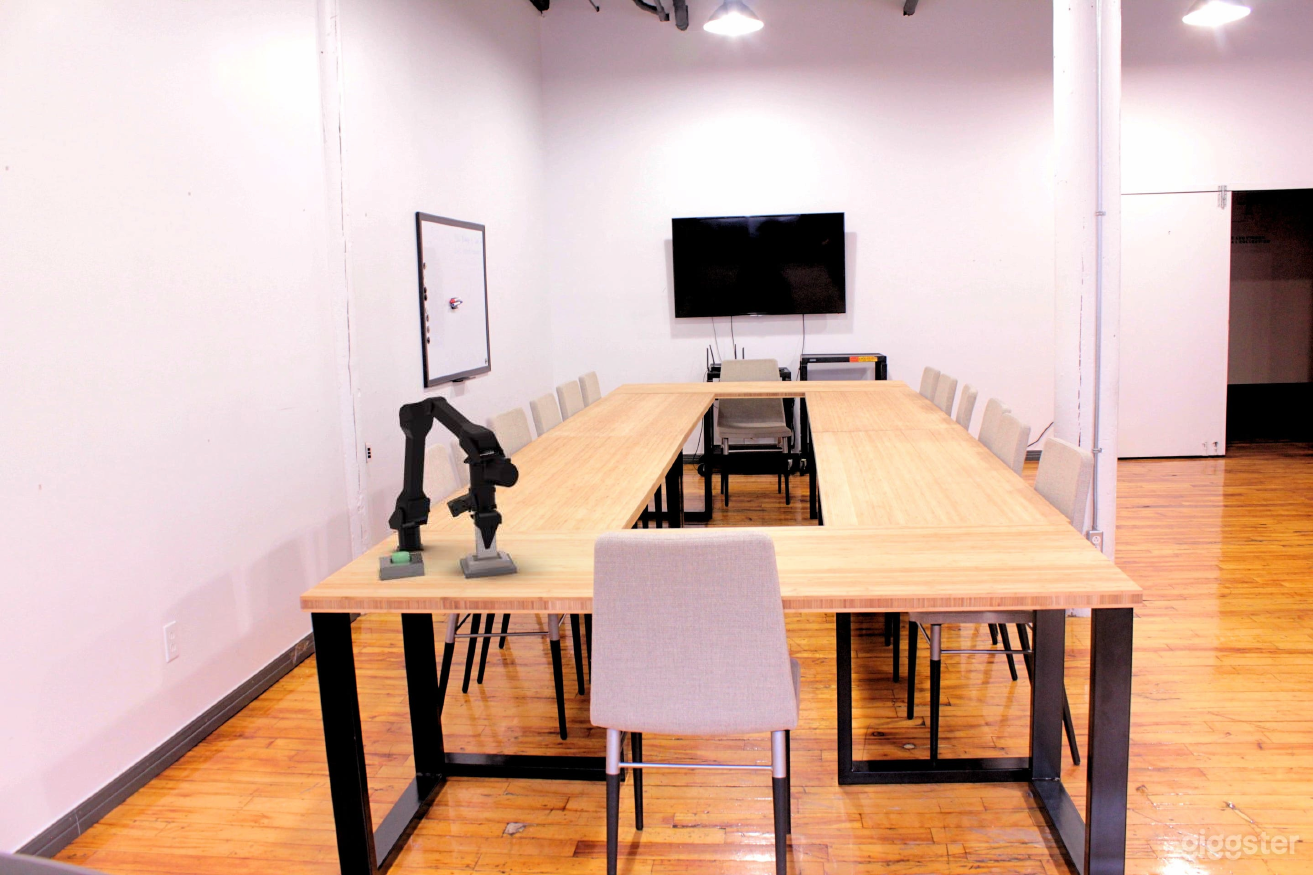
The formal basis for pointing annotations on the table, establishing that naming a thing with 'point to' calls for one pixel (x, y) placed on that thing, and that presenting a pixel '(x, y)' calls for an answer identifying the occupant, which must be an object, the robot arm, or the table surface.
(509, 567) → the grey slotted socket base
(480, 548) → the block
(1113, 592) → the table surface
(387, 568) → the square peg board
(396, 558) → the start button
